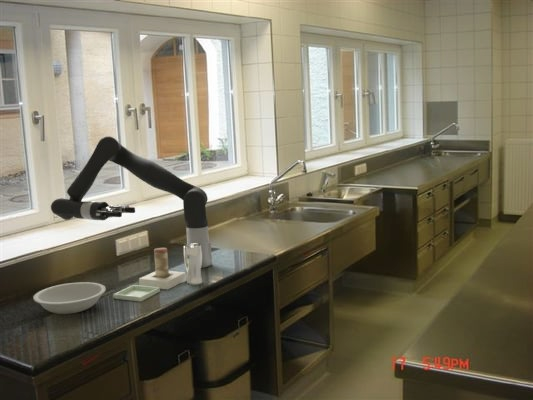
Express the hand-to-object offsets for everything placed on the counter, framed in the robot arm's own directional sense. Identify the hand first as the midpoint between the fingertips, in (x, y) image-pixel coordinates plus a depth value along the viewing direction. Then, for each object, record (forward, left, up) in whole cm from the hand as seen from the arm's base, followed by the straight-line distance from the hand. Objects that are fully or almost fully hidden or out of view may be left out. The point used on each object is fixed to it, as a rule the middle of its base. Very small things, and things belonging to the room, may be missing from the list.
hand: (127, 212), depth 246 cm
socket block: (-7, +12, -28) cm, 31 cm away
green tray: (+7, +19, -28) cm, 35 cm away
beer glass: (-17, +19, -28) cm, 38 cm away
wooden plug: (-7, +12, -28) cm, 31 cm away
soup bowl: (+31, +18, -28) cm, 46 cm away
